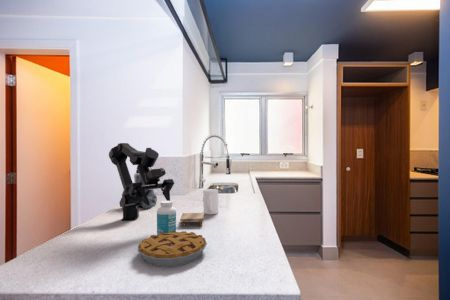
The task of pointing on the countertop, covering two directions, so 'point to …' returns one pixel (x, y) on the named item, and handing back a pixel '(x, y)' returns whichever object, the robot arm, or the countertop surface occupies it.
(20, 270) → the countertop surface
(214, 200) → the mug
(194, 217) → the square wooden stand
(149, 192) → the koala plush
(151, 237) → the pie
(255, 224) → the countertop surface
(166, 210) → the pill bottle
